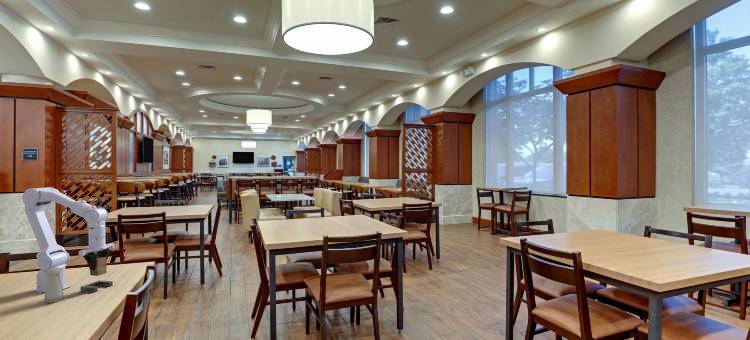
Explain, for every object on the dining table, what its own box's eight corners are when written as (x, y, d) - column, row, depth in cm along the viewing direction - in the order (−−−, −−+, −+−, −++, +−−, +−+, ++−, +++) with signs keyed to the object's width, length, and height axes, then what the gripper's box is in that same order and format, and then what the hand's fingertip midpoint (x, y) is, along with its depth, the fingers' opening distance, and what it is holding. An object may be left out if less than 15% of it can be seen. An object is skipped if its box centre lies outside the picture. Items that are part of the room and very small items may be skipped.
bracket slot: (80, 291, 153) (80, 286, 153) (99, 284, 161) (99, 280, 161) (94, 292, 152) (94, 287, 152) (112, 285, 160) (112, 281, 160)
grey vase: (52, 304, 139) (51, 270, 139) (40, 303, 140) (39, 269, 140) (67, 298, 145) (67, 266, 144) (56, 297, 146) (55, 265, 146)
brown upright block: (90, 275, 154) (89, 258, 154) (98, 272, 158) (98, 256, 158) (97, 275, 153) (97, 259, 153) (106, 273, 157) (106, 257, 157)
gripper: (88, 240, 148) (89, 274, 148) (119, 233, 162) (120, 264, 162) (74, 240, 149) (74, 273, 149) (106, 233, 163) (107, 263, 164)
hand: (97, 268), depth 156 cm, fingers closed on brown upright block, 4 cm apart
